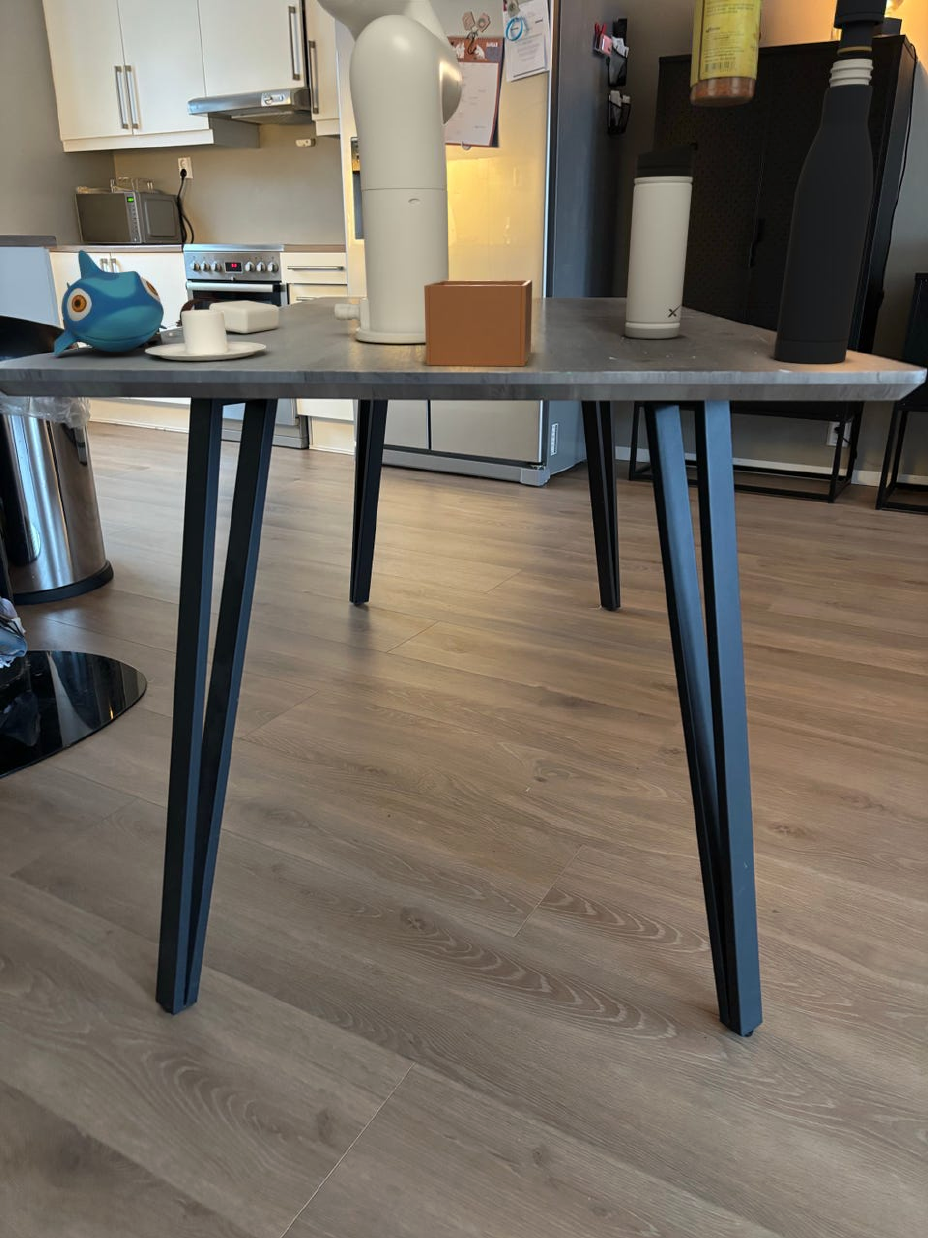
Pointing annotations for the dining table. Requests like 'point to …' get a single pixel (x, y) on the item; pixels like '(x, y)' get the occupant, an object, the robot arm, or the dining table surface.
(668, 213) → the travel mug
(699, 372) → the dining table surface
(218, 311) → the candle holder
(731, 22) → the sauce bottle
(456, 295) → the box
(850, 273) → the black water bottle
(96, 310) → the toy
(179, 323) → the witch figurine
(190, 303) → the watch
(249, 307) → the soap
